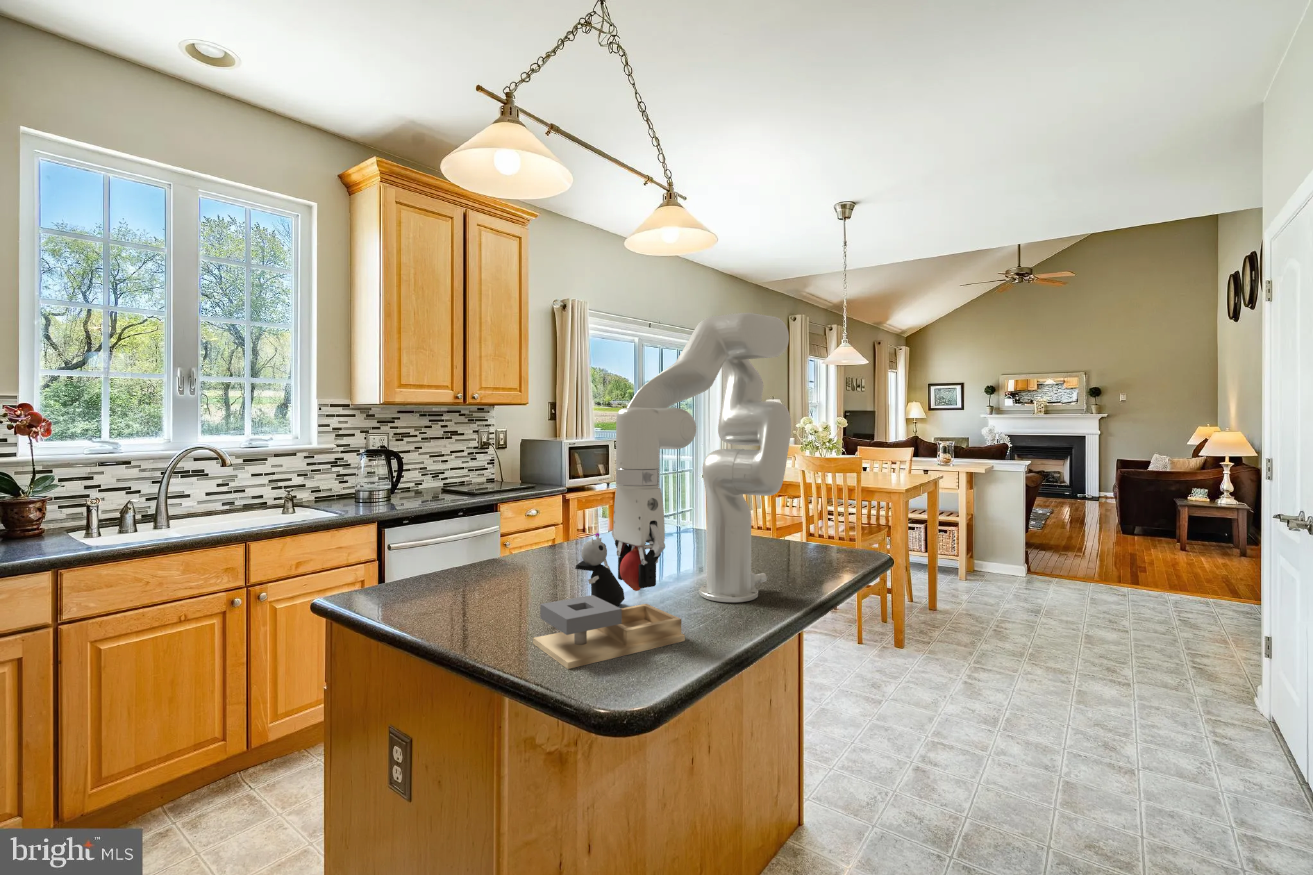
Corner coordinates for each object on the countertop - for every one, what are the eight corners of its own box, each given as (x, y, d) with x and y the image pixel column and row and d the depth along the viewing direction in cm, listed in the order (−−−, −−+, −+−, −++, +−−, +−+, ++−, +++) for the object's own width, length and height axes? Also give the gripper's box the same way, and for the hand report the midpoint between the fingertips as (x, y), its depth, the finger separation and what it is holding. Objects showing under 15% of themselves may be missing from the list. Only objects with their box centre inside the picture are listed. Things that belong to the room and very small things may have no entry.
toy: (619, 614, 117) (595, 538, 117) (586, 623, 118) (562, 548, 119) (633, 597, 128) (612, 528, 129) (603, 606, 129) (582, 537, 130)
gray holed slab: (592, 608, 108) (592, 595, 108) (621, 623, 100) (621, 608, 100) (540, 618, 103) (540, 603, 103) (566, 634, 95) (566, 619, 95)
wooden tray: (643, 620, 116) (643, 591, 116) (684, 640, 106) (684, 608, 106) (533, 643, 104) (533, 611, 104) (567, 669, 93) (567, 632, 93)
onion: (614, 588, 109) (615, 542, 109) (645, 585, 111) (645, 540, 111) (626, 596, 104) (626, 549, 104) (658, 593, 106) (658, 546, 106)
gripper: (684, 481, 102) (683, 590, 103) (629, 475, 117) (628, 570, 117) (646, 483, 98) (645, 597, 98) (594, 476, 112) (593, 575, 113)
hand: (636, 581), depth 108 cm, fingers closed on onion, 5 cm apart
